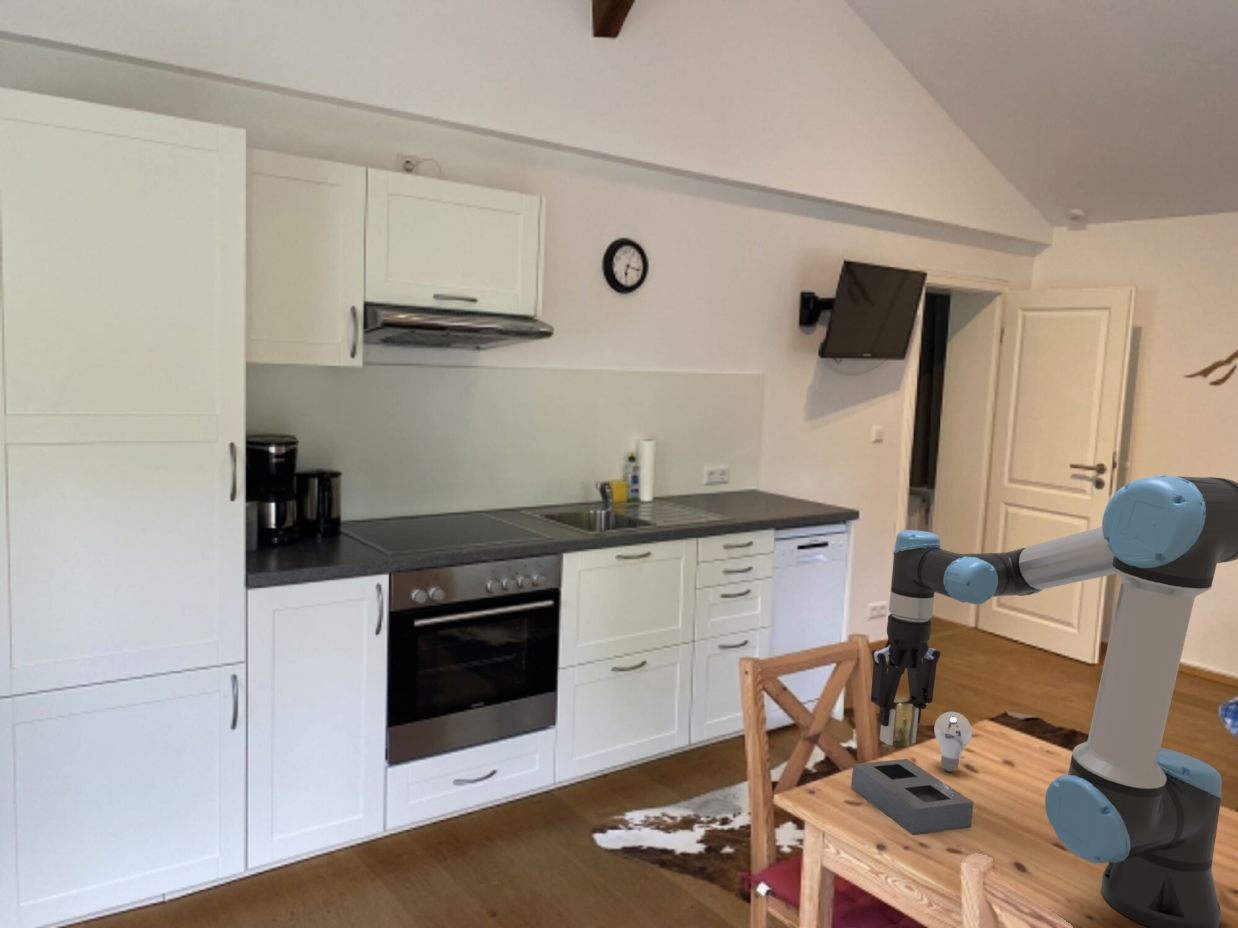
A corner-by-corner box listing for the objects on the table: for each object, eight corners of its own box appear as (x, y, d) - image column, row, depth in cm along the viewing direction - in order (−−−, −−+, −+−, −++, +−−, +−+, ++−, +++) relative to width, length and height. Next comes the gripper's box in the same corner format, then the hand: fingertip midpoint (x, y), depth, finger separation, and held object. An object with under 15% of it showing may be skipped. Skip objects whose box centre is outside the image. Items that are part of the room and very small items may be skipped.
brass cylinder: (914, 746, 164) (918, 704, 164) (893, 748, 163) (898, 705, 162) (899, 737, 169) (903, 695, 168) (879, 738, 167) (883, 696, 166)
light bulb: (962, 765, 182) (967, 708, 181) (972, 780, 175) (978, 720, 174) (926, 762, 182) (932, 704, 181) (935, 777, 175) (941, 717, 174)
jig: (970, 826, 156) (973, 801, 155) (913, 834, 152) (915, 808, 151) (904, 781, 173) (906, 758, 172) (851, 787, 168) (853, 763, 168)
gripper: (935, 609, 170) (923, 729, 172) (856, 612, 164) (845, 736, 166) (963, 620, 163) (950, 745, 165) (882, 623, 157) (869, 753, 159)
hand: (897, 740), depth 165 cm, fingers closed on brass cylinder, 4 cm apart
